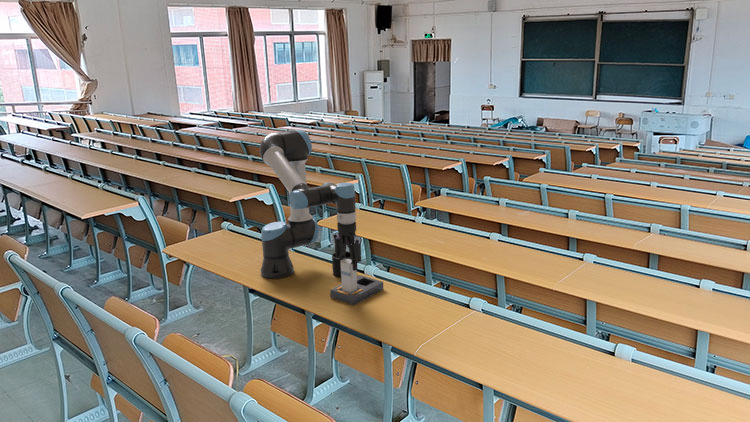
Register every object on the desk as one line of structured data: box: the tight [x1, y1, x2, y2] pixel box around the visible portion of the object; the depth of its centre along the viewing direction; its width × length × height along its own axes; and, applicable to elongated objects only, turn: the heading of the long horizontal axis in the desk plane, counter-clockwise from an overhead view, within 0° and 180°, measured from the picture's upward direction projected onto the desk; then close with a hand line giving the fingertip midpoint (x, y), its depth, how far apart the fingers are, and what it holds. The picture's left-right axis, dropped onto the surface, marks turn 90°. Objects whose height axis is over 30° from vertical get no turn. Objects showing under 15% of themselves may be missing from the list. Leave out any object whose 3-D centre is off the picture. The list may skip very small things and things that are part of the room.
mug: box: [331, 251, 351, 278], centre depth 252 cm, size 9×12×9 cm
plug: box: [340, 259, 358, 294], centre depth 227 cm, size 5×5×14 cm
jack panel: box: [330, 274, 384, 306], centre depth 233 cm, size 13×19×4 cm
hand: (348, 275), depth 227 cm, fingers closed on plug, 5 cm apart
